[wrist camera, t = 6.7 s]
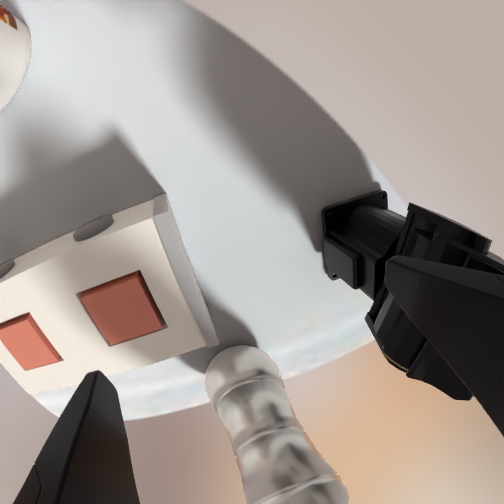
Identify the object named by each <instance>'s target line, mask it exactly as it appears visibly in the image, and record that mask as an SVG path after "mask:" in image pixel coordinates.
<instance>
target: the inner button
mask: <svg viewBox="0 0 504 504" xmlns="http://www.w3.org/2000/svg"><path fill="white" fill-rule="evenodd" d="M81 299H82V301H83V303H84V304H85V306H86V308H87V309H88V311H89V313H90V314H91V316H92V317H93V319H94V321H95V322H96V324H97V325H98V327H99V328H100V330H101V331H102V333H103V334H104V336H105V337H106V339H107V340H108V342H109V343H110V345H111V344H115V343H118V342H121V341H124V340H127V339H130V338H133V337H137V336H140V335H143V334H146V333H149V332H152V331H155V330H158V329H161V328H162V318H161V312H160V310H159V308H158V306H157V304H156V302H155V300H154V298H153V296H152V294H151V292H150V290H149V288H148V286H147V284H146V282H145V279H144V277H143V275H142V273H141V271H140V270H138V271H135V272H132V273H129V274H127V275H124V276H121V277H119V278H116V279H113V280H111V281H108V282H105V283H103V284H100V285H97V286H95V287H92V288H89V289H87V290H84V291H83V294H82V297H81Z"/></svg>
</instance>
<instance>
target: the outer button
mask: <svg viewBox="0 0 504 504" xmlns="http://www.w3.org/2000/svg"><path fill="white" fill-rule="evenodd" d="M0 340H1V342H2V343H3V344H4V346H5V347H6V348H7V350H8V351H9V352H10V353H11V355H12V356H13V357H14V358H15V360H16V361H17V362H18V363H19V364H20V366H21V367H22V368H23V369H24V370H27V369H31V368H35V367H39V366H42V365H46V364H50V363H53V362H57V361H58V359H59V356H60V354H59V353H58V352H57V350H56V349H55V348H54V347H53V345H52V344H51V343H50V341H49V340H48V339H47V337H46V336H45V334H44V333H43V332H42V330H41V329H40V327H39V326H38V324H37V323H36V321H35V320H34V319H33V317H32V315H31V314H30V312H27V313H25V314H22V315H20V316H17V317H15V318H12V319H10V320H7V321H5V322H3V323H0Z"/></svg>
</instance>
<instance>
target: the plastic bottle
mask: <svg viewBox="0 0 504 504" xmlns="http://www.w3.org/2000/svg"><path fill="white" fill-rule="evenodd" d="M205 383H206V392H207V394H208V396H209V399H210V401H211V403H212V405H213V407H214V408H215V410H216V412H217V413H218V414H219V416H220V419H221V421H222V423H223V426H224V428H225V430H226V433H227V435H228V437H229V439H230V441H231V444H232V448H233V451H234V454H235V456H236V461H237V465H238V468H239V471H240V474H241V477H242V483H243V488H244V493H245V497H246V501H247V504H348V499H349V496H348V492H347V488H346V484H345V483H344V482H343V480H342V479H341V477H340V476H339V475H337V473H336V472H335V470H334V469H333V468H332V467H331V466H330V464H329V463H328V462H327V461H326V460H325V458H324V457H323V456H322V455H321V454H320V452H319V451H318V450H317V449H316V447H315V446H314V444H313V443H312V441H311V440H310V438H309V437H308V435H307V434H306V433H305V432H304V430H303V427H302V426H301V424H300V423H299V421H298V419H297V418H296V415H295V413H294V411H293V408H292V406H291V404H290V401H289V399H288V397H287V394H286V392H285V388H284V383H283V380H282V377H281V374H280V371H279V369H278V366H277V365H276V364H275V362H274V361H273V360H272V359H271V358H270V357H269V355H268V354H267V353H266V352H264V351H263V350H261V349H258V348H255V347H252V346H247V345H239V346H233V347H230V348H227V349H225V350H223V351H221V352H220V353H218V354H217V355H216V356H215V357H214V358H213V359H212V360H211V362H210V364H209V365H208V367H207V369H206V373H205Z"/></svg>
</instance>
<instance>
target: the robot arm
mask: <svg viewBox="0 0 504 504" xmlns="http://www.w3.org/2000/svg"><path fill="white" fill-rule="evenodd" d="M381 196H382V197H381ZM407 210H408V213H407V217H404V216H402V215H399V214H397V213H395V212H393V211H391V210H388V201H387V193H386V192H385V191H383V190H378V191H375V192H372V193H369V194H365V195H362V196H359V197H356V198H353V199H350V200H347V201H343V202H340V203H337V204H334V205H331V206H328V207H326V208H324V209H323V211H322V222H323V231H324V237H323V246H324V257H325V265H326V266H327V273H328V277H329V278H330V279H331V280H336V279H339V278H341V279H342V280H343V281H345V282H346V283H347V284H348V285H349V286H350V287H351V288H353V289H355V290H356V289H358V288H359V289H360V290H362V291H363V292H364V293H365V294H366V295H367V296H369V297H370V298H371V299H372V300H373V301H374V302H373V305H372V307H371V309H370V311H369V312H368V313H367V315H366V317H365V321H366V323H367V324H368V326H369V328H370V330H371V332H372V334H373V336H374V338H375V339H376V341H377V343H378V345H379V347H380V349H381V351H382V353H383V354H384V356H385V358H386V359H387V360H388V362H389V363H390V364H392V365H393V366H394V367H396V368H398V369H399V370H401V371H403V372H405V373H406V376H407V377H409V378H412V379H417V380H421V381H423V382H425V383H428V384H430V385H432V386H434V387H436V388H438V389H439V390H441V391H442V392H444V393H445V394H447V395H448V396H450V397H451V398H453V399H456V400H471V399H472V398H473V397H474V396H475V398H476V399H477V400H478V402H479V403H480V404H481V405H482V407H483V409H484V410H485V411H486V413H487V414H488V415H489V417H490V418H491V419H492V421H493V422H494V424H495V425H496V426H497V428H498V429H499V431H500V432H501V434H502V435H503V437H504V260H503V259H502V258H500V257H499V256H497V255H495V254H493V253H491V252H490V251H488V250H489V248H490V246H491V243H492V240H490V239H488V238H486V237H485V236H483V235H481V234H479V233H478V232H476V231H474V230H472V229H470V228H468V227H466V226H464V225H462V224H460V223H458V222H456V221H454V220H452V219H449V218H447V217H445V216H443V215H440V214H438V213H435V212H433V211H430V210H428V209H425V208H423V207H420V206H418V205H415V204H412V203H409V206H408V209H407ZM328 212H330V214H329V216H327V214H328ZM334 273H335V274H334ZM333 274H334V275H333ZM13 504H140V502H139V497H138V493H137V489H136V484H135V479H134V474H133V469H132V464H131V458H130V451H129V445H128V439H127V434H126V430H125V426H124V422H123V417H122V413H121V408H120V403H119V398H118V393H117V390H116V388H115V387H114V386H113V384H112V383H111V382H110V381H109V380H108V379H107V377H106V376H105V375H104V374H103V373H102V372H101V371H100V370H96V371H92V372H89V373H87V374H86V375H85V377H84V378H83V380H82V382H81V383H80V385H79V386H78V388H77V390H76V391H75V393H74V394H73V396H72V398H71V399H70V401H69V403H68V404H67V406H66V408H65V409H64V411H63V413H62V414H61V416H60V418H59V419H58V421H57V423H56V425H55V426H54V428H53V430H52V432H51V434H50V435H49V437H48V439H47V441H46V443H45V444H44V446H43V448H42V450H41V452H40V454H39V455H38V457H37V459H36V461H35V465H33V467H32V469H31V471H30V473H29V475H28V477H27V479H26V481H25V483H24V485H23V487H22V488H21V490H20V492H19V494H18V495H17V497H16V499H15V501H14V502H13Z"/></svg>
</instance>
